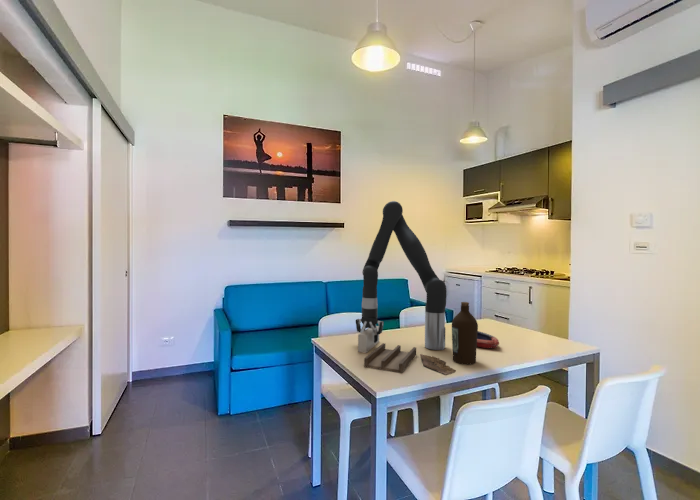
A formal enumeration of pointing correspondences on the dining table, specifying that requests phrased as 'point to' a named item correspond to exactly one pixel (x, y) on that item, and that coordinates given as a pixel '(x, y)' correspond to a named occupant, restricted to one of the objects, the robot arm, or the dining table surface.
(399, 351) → the rack
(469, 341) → the olive oil
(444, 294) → the robot arm
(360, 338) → the gray rectangular block
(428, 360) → the wooden fragment
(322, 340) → the dining table surface
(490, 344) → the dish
